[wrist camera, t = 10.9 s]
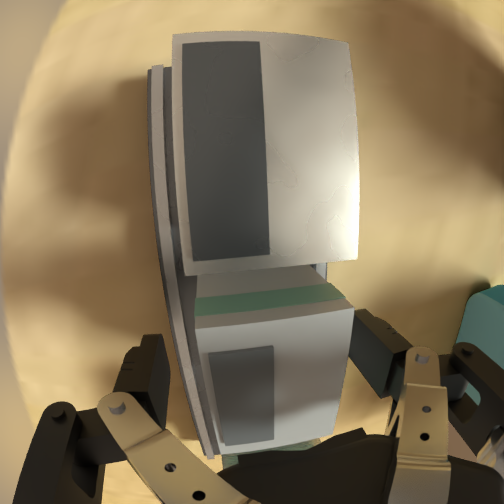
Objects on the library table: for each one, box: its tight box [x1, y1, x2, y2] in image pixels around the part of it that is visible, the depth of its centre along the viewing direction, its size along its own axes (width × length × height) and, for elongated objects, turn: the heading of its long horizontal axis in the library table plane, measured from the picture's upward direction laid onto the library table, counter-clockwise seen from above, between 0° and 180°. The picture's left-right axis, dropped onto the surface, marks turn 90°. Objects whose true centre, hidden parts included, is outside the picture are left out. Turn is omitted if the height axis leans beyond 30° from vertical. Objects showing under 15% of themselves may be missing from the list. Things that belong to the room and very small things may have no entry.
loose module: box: [194, 264, 355, 454], centre depth 11 cm, size 6×5×6 cm
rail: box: [147, 31, 359, 469], centre depth 12 cm, size 24×8×8 cm, turn 3°
